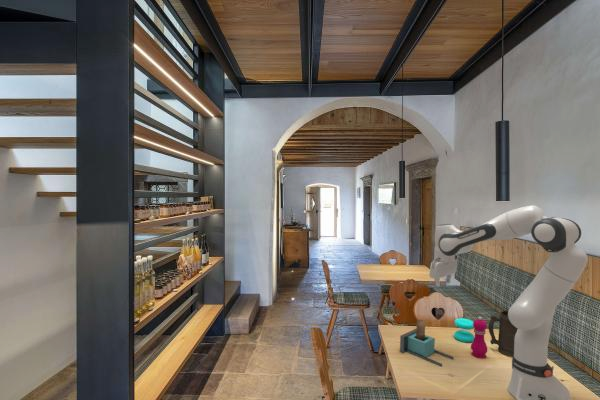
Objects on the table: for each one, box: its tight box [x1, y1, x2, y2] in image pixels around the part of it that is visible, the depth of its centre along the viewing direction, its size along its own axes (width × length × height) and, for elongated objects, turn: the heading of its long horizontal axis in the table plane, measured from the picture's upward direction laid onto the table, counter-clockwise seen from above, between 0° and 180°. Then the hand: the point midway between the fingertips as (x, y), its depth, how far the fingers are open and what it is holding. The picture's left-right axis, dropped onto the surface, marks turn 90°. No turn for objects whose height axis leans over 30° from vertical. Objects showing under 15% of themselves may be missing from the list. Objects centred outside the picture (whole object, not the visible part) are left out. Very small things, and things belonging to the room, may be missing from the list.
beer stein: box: [487, 310, 518, 358], centre depth 176 cm, size 15×11×20 cm
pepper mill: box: [470, 316, 488, 359], centre depth 170 cm, size 7×7×20 cm
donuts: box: [453, 317, 475, 343], centre depth 191 cm, size 10×10×10 cm
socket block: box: [408, 334, 435, 358], centre depth 173 cm, size 9×9×7 cm
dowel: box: [415, 319, 426, 341], centre depth 173 cm, size 4×4×12 cm
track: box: [399, 328, 454, 367], centre depth 170 cm, size 20×16×9 cm
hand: (442, 284), depth 173 cm, fingers open, 8 cm apart
